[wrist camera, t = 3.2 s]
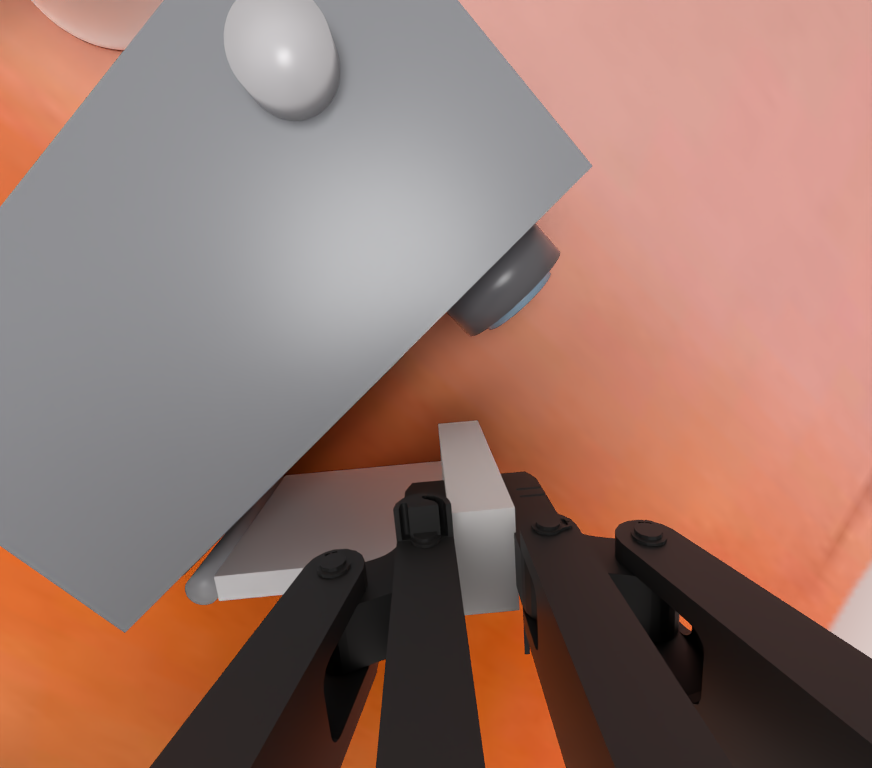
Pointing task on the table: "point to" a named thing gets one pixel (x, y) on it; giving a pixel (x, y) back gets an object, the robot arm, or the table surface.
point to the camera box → (248, 265)
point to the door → (306, 529)
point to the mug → (100, 19)
